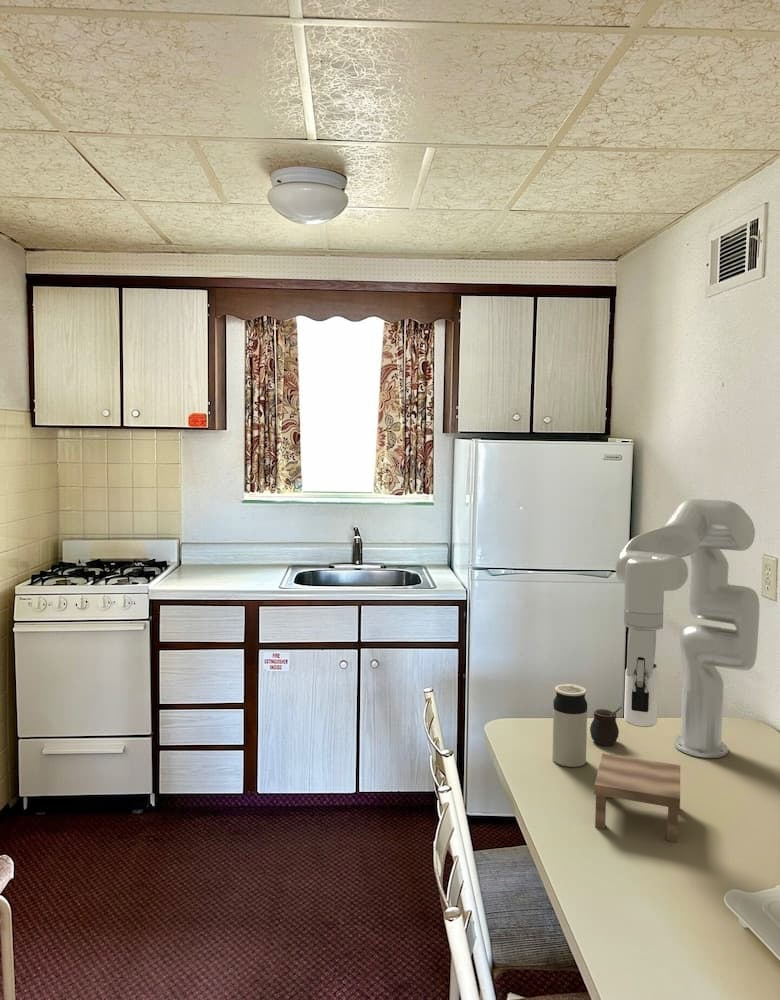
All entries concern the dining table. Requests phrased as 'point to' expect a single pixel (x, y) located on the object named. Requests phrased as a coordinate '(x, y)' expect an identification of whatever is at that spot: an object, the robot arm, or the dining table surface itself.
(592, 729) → the mate gourd
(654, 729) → the dining table surface
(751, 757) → the dining table surface
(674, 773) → the small wooden table
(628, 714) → the can
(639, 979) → the dining table surface
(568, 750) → the travel mug
